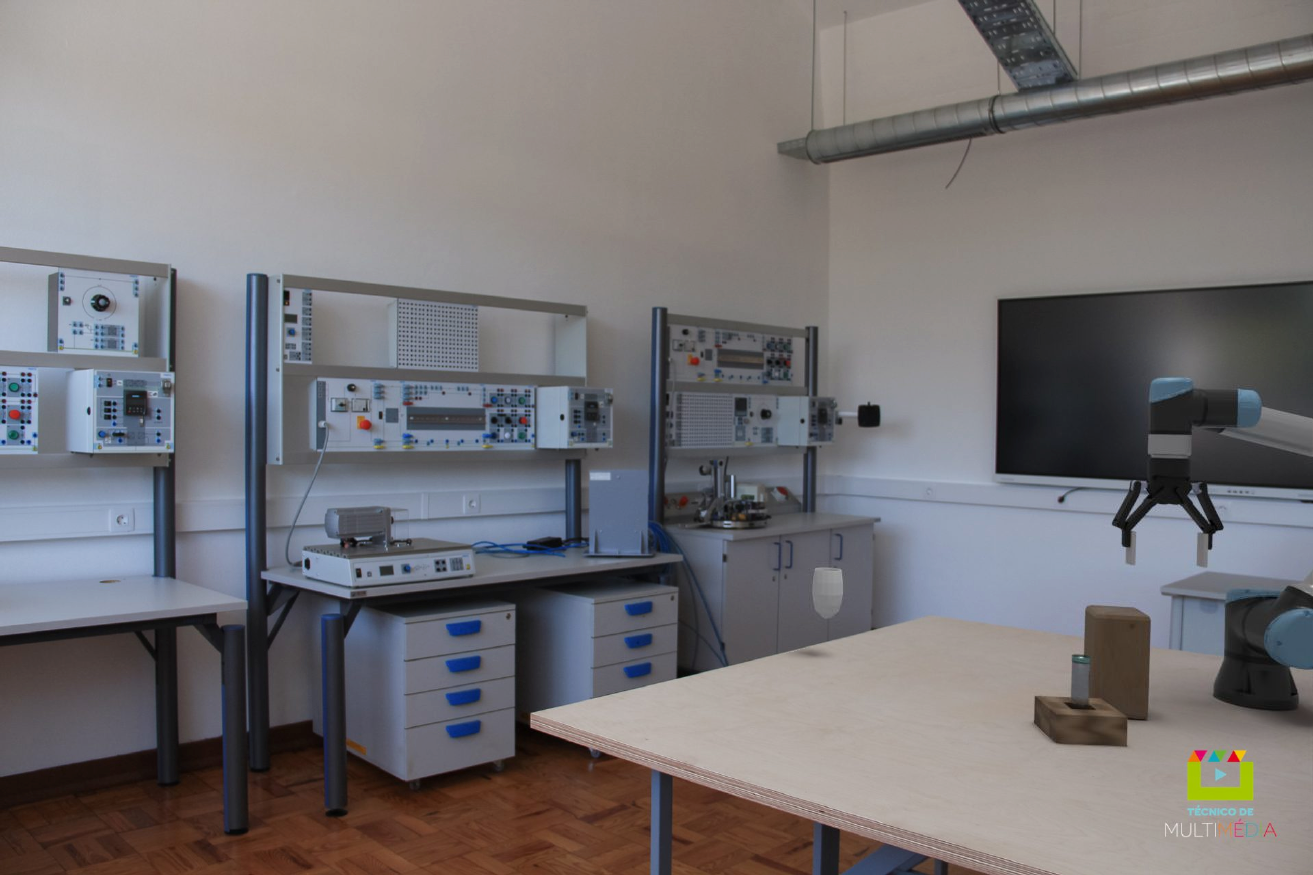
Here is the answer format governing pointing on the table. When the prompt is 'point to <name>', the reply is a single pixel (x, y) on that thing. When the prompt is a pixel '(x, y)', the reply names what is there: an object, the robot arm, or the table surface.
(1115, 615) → the wooden block
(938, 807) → the table surface
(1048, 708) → the socket block
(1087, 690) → the peg
